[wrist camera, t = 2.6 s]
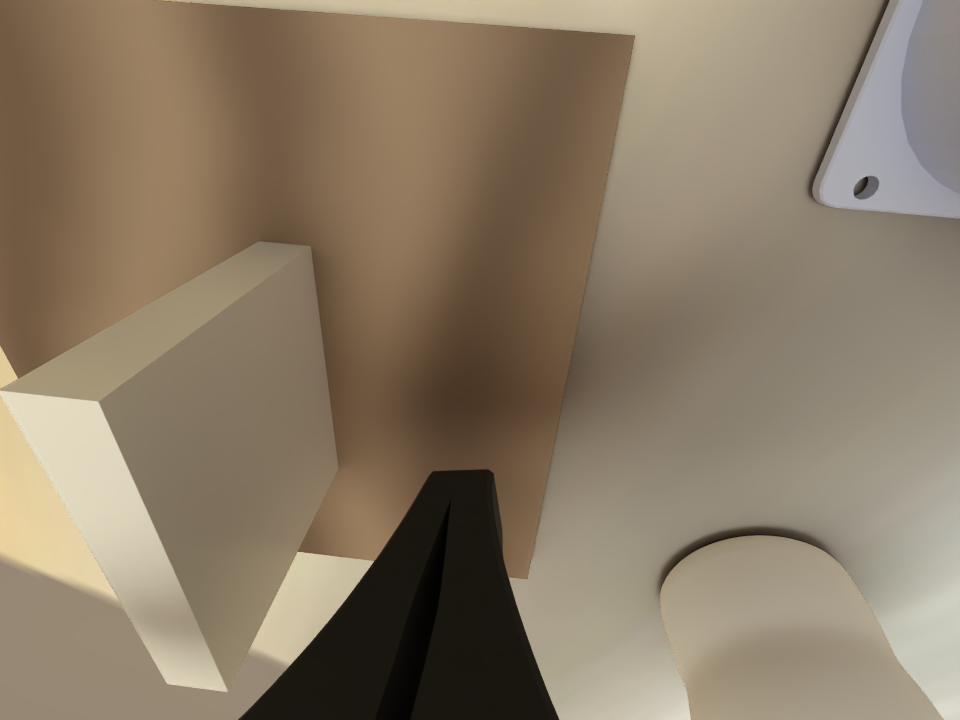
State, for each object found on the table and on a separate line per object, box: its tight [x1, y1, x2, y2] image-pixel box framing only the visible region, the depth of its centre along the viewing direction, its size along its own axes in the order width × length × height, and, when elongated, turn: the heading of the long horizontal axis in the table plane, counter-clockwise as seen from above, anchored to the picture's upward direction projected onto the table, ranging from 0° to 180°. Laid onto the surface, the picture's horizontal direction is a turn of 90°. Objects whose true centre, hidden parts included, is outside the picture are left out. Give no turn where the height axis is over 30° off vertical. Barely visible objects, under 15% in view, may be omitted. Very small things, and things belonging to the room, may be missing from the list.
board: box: [0, 0, 635, 579], centre depth 15 cm, size 18×18×1 cm
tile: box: [0, 241, 339, 692], centre depth 11 cm, size 2×8×7 cm, turn 176°
